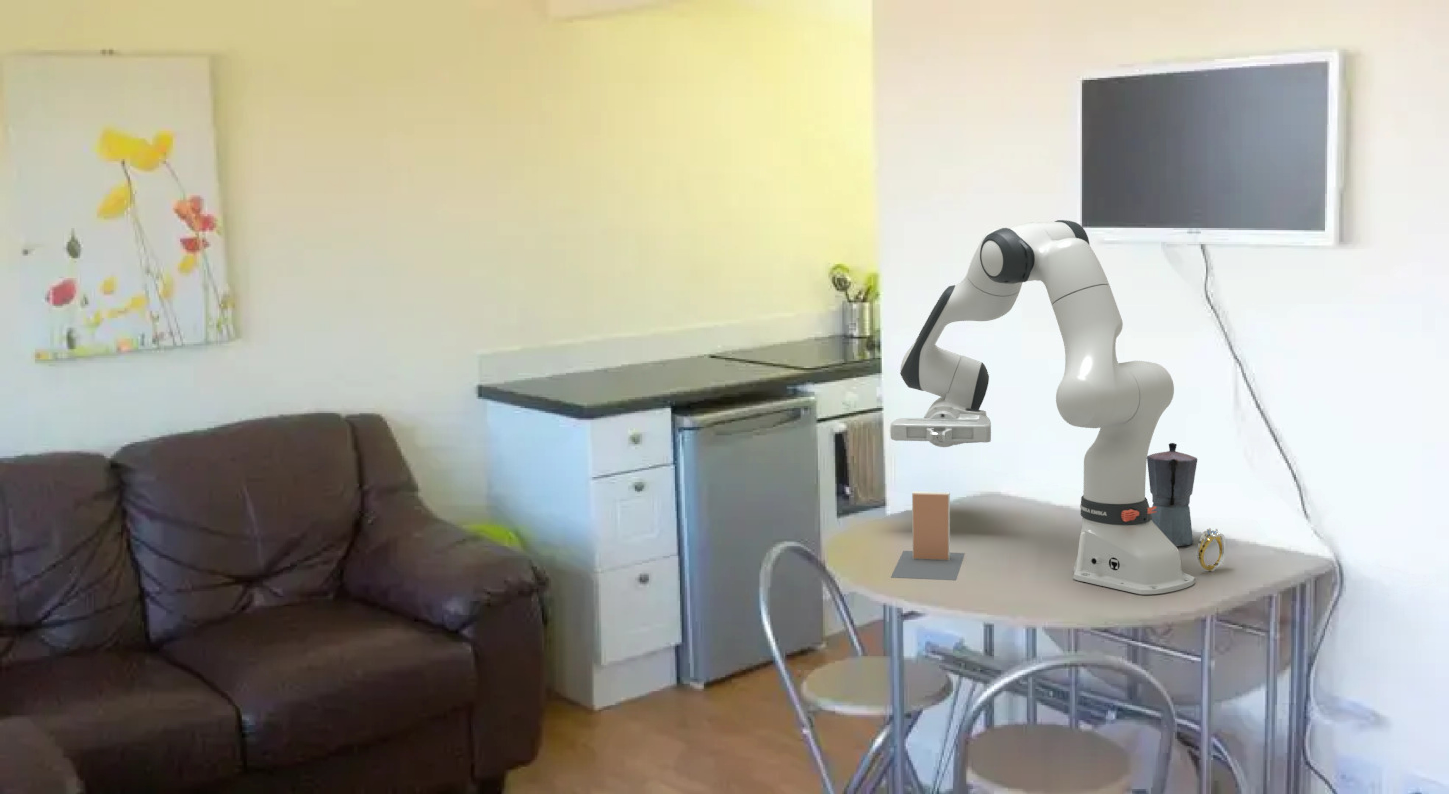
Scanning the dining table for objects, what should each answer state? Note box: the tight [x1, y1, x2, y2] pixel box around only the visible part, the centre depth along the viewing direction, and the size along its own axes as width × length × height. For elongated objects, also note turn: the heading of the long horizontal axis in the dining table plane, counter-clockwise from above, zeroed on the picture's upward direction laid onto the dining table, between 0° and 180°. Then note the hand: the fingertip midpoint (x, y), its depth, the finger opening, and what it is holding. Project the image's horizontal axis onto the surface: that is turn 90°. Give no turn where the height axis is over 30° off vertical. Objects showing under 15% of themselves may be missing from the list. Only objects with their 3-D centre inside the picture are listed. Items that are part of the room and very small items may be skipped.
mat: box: [890, 550, 966, 581], centre depth 291 cm, size 19×12×1 cm, turn 166°
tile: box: [911, 490, 951, 560], centre depth 295 cm, size 2×7×13 cm, turn 76°
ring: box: [1196, 527, 1227, 572], centre depth 283 cm, size 7×3×8 cm, turn 119°
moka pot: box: [1146, 442, 1198, 547], centre depth 302 cm, size 10×15×20 cm, turn 170°
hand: (937, 437), depth 304 cm, fingers closed
